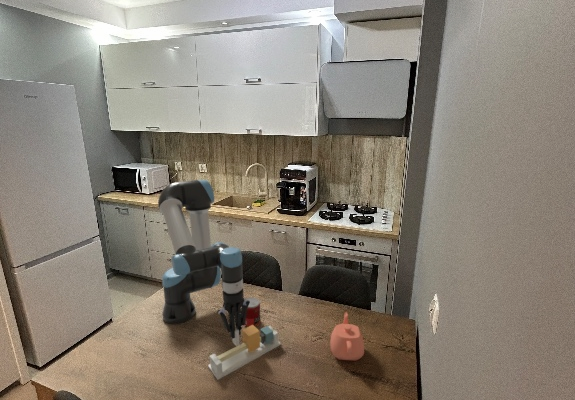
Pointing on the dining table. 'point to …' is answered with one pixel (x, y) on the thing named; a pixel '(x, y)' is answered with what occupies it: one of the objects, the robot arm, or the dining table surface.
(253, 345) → the orange slider block
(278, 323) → the dining table surface
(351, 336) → the teapot
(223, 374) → the linear slide rail
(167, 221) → the robot arm
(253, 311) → the canned food
